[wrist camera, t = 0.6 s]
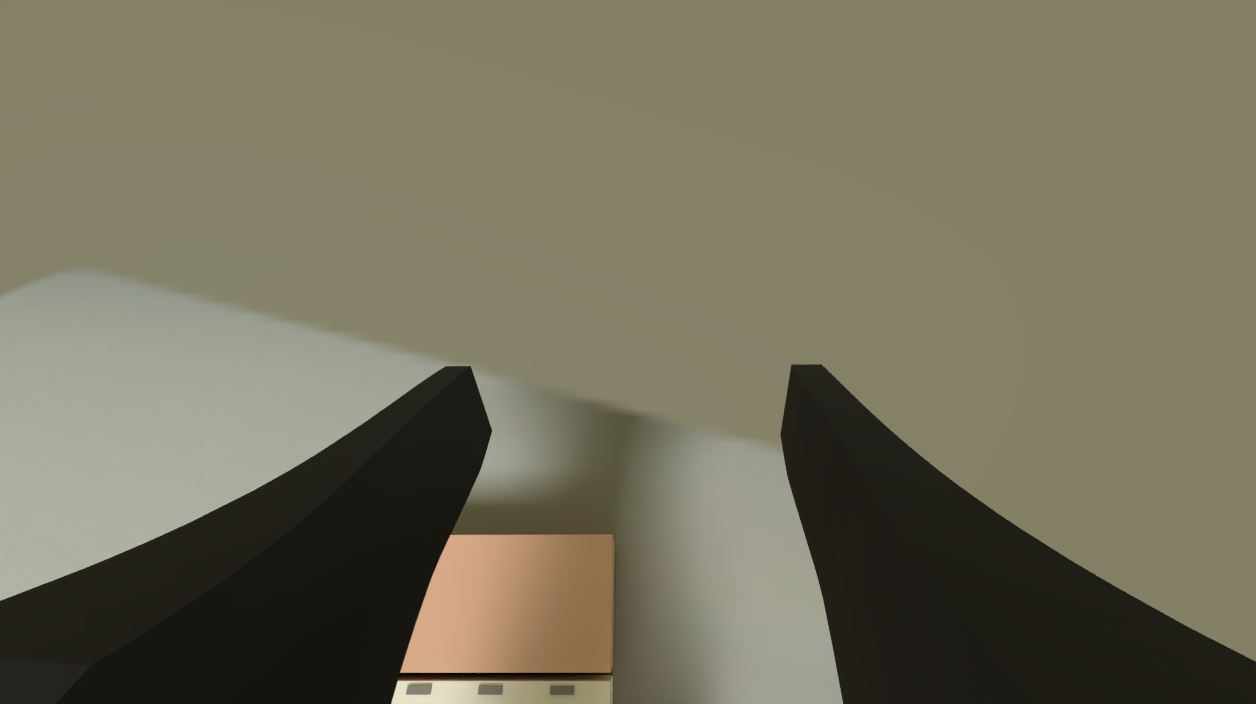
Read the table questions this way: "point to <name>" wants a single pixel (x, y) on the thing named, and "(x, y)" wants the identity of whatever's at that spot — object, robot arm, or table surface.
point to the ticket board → (504, 689)
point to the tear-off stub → (518, 606)
